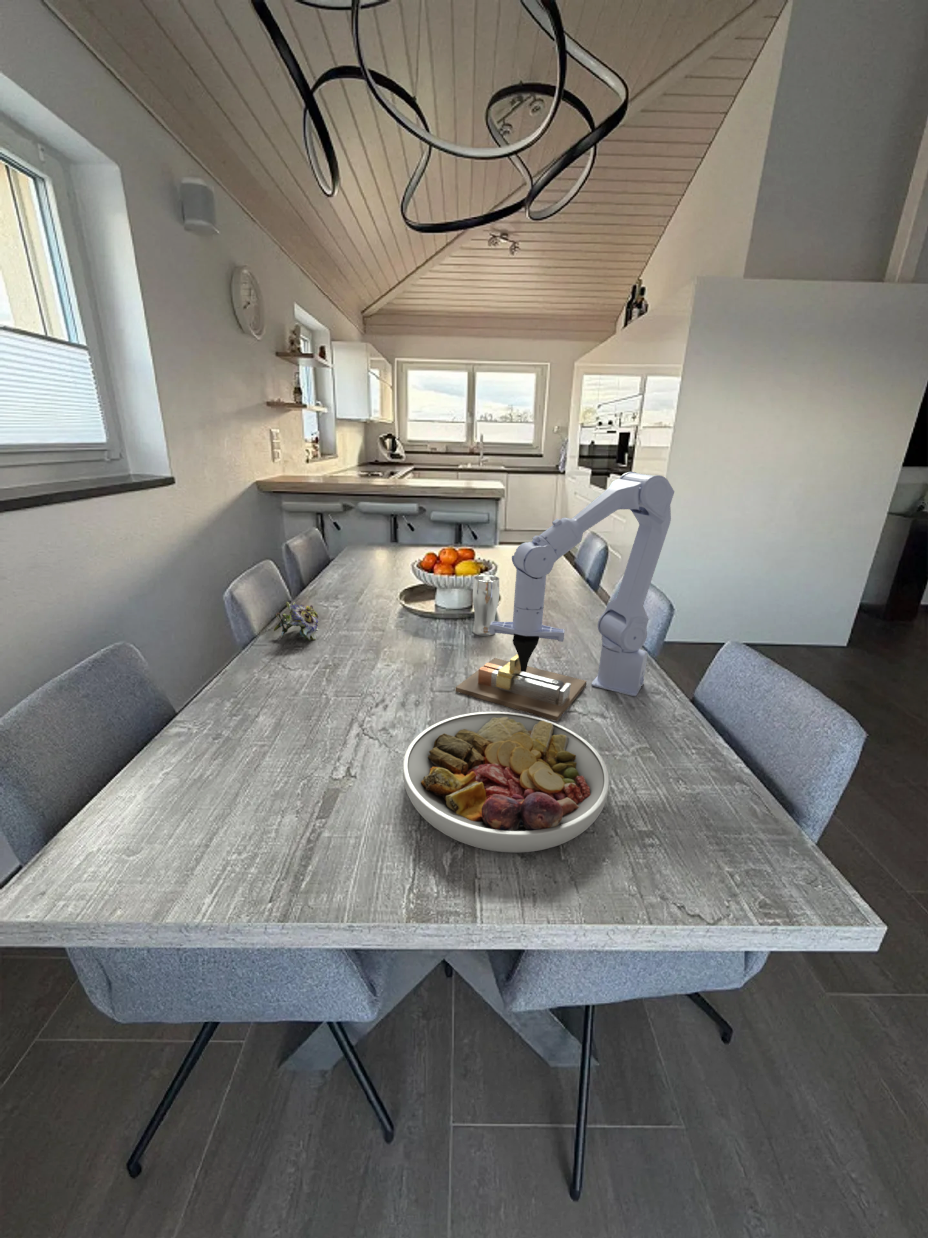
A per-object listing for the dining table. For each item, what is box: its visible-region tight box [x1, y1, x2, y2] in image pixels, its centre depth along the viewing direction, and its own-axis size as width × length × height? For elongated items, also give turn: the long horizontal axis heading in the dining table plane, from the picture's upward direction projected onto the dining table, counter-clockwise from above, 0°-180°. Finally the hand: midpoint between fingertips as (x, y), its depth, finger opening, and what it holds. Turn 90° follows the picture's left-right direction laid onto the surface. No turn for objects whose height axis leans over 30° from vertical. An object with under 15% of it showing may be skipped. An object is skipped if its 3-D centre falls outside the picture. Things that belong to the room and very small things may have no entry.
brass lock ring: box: [496, 653, 521, 690], centre depth 107 cm, size 3×6×6 cm, turn 151°
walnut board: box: [455, 657, 587, 722], centre depth 111 cm, size 22×18×1 cm
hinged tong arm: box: [483, 662, 564, 699], centre depth 108 cm, size 17×2×3 cm, turn 61°
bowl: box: [402, 711, 610, 853], centre depth 78 cm, size 30×30×8 cm
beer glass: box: [472, 574, 500, 637], centre depth 139 cm, size 7×7×15 cm
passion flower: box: [273, 601, 319, 642], centre depth 132 cm, size 11×11×12 cm
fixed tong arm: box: [478, 665, 571, 706], centre depth 107 cm, size 18×4×3 cm, turn 61°
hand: (523, 669), depth 106 cm, fingers closed
